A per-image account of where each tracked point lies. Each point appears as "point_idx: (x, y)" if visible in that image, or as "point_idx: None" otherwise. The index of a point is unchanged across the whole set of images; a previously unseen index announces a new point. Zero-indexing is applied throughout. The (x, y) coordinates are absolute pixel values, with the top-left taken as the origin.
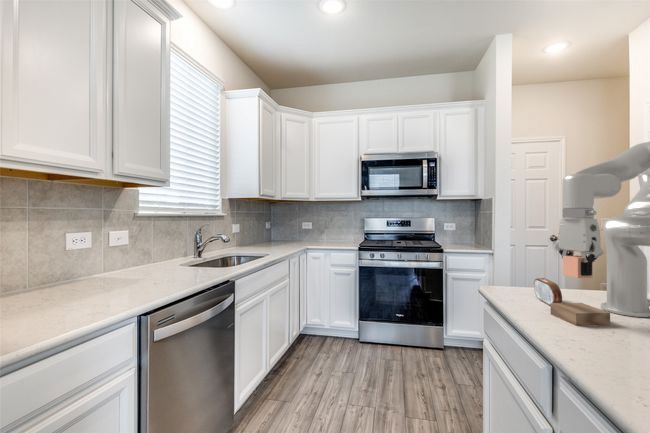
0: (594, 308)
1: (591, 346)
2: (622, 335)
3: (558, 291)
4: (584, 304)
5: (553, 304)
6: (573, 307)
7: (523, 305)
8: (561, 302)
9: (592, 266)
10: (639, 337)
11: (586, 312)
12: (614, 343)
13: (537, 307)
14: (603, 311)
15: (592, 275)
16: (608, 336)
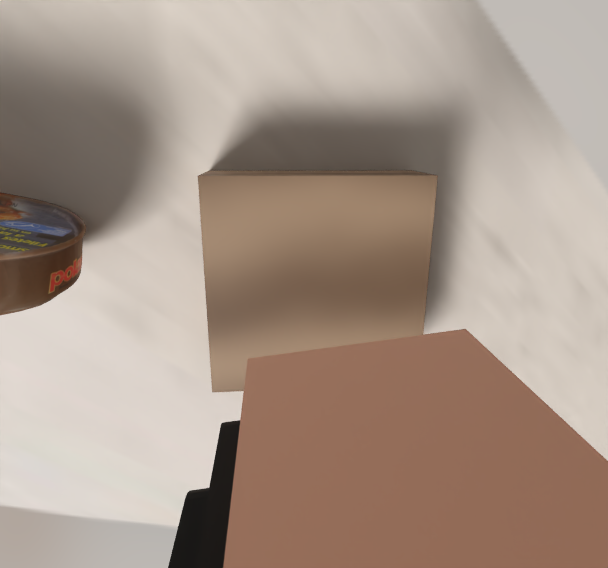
0: (341, 198)
1: (596, 449)
2: (539, 238)
3: (39, 264)
4: (243, 187)
5: (239, 390)
6: (311, 318)
7: (44, 401)
8: (85, 226)
9: (552, 412)
10: (576, 180)
11: (411, 316)
12: (598, 349)
13: (81, 346)
14: (406, 193)
15: (477, 341)
16: (535, 312)
